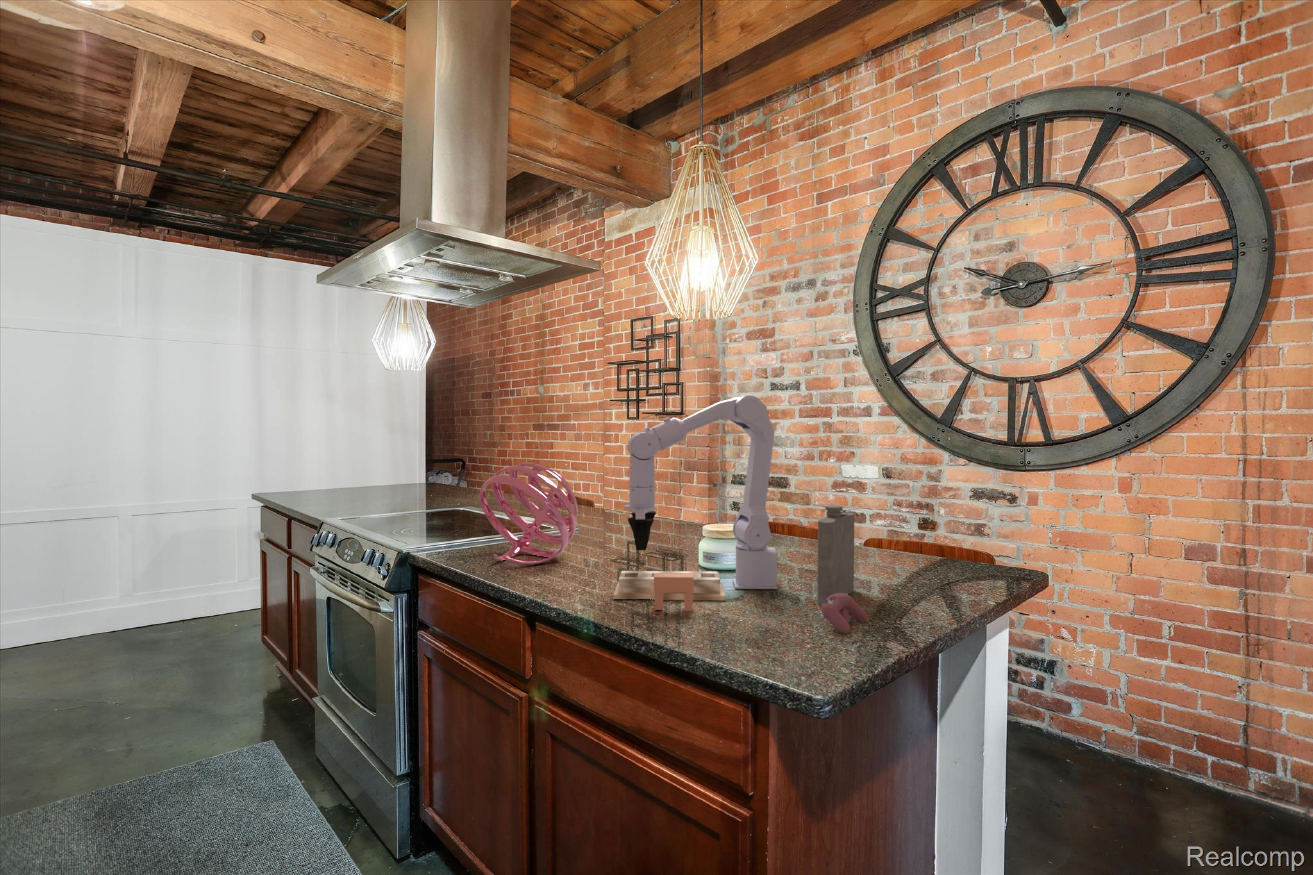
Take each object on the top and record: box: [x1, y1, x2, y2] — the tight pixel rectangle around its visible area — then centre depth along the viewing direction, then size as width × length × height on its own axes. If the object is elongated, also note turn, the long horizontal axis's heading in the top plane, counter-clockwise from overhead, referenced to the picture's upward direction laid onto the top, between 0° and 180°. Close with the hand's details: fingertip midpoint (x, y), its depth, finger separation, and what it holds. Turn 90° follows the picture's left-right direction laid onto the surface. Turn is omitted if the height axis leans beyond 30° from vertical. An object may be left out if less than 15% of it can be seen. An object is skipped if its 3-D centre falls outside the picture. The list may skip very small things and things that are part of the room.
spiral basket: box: [479, 462, 579, 566], centre depth 174 cm, size 28×28×27 cm
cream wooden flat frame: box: [613, 570, 726, 601], centre depth 142 cm, size 24×11×4 cm, turn 88°
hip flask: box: [816, 504, 855, 607], centre depth 139 cm, size 16×4×20 cm, turn 144°
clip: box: [654, 573, 694, 612], centre depth 130 cm, size 8×3×7 cm, turn 88°
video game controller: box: [821, 593, 869, 635], centre depth 120 cm, size 10×5×7 cm, turn 141°
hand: (642, 546), depth 144 cm, fingers open, 7 cm apart
